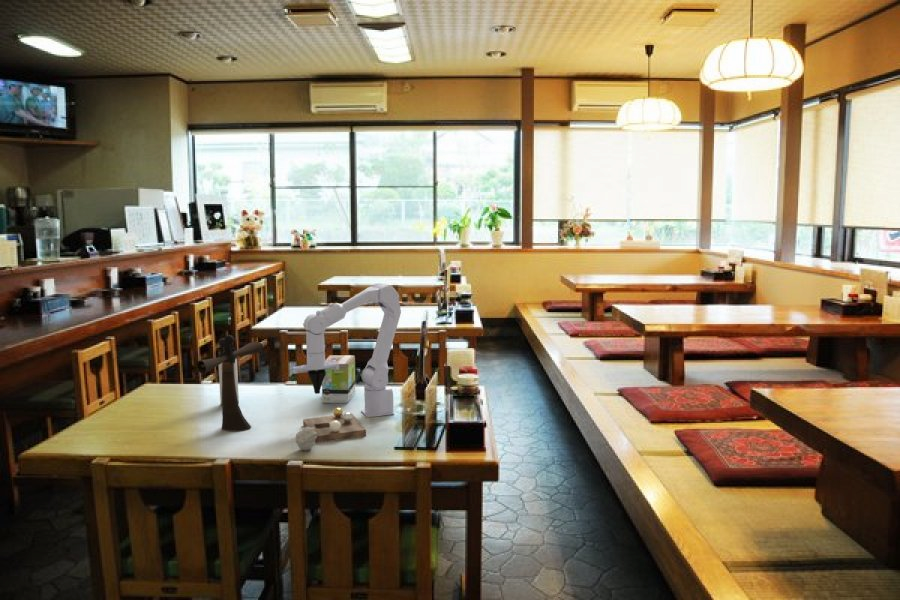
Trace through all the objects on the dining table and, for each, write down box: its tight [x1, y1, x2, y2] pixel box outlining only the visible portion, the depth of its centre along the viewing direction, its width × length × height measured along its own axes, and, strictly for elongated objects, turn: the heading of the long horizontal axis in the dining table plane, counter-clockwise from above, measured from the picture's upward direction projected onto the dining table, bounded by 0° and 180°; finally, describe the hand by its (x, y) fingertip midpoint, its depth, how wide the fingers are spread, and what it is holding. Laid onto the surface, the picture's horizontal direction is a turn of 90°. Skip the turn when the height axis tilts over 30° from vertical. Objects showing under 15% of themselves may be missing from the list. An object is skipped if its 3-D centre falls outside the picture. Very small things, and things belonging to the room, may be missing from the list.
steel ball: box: [343, 412, 353, 423], centre depth 210 cm, size 3×3×3 cm
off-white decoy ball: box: [330, 420, 341, 432], centre depth 201 cm, size 3×3×3 cm
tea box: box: [321, 354, 356, 404], centre depth 244 cm, size 15×10×15 cm
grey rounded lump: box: [294, 427, 318, 452], centre depth 191 cm, size 6×7×7 cm
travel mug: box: [217, 347, 240, 407], centre depth 236 cm, size 6×7×20 cm
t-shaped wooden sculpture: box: [196, 334, 264, 432], centre depth 210 cm, size 32×10×30 cm, turn 165°
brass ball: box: [332, 407, 344, 417], centre depth 215 cm, size 3×3×3 cm
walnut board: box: [302, 412, 367, 444], centre depth 208 cm, size 16×18×2 cm
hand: (317, 392), depth 215 cm, fingers closed
